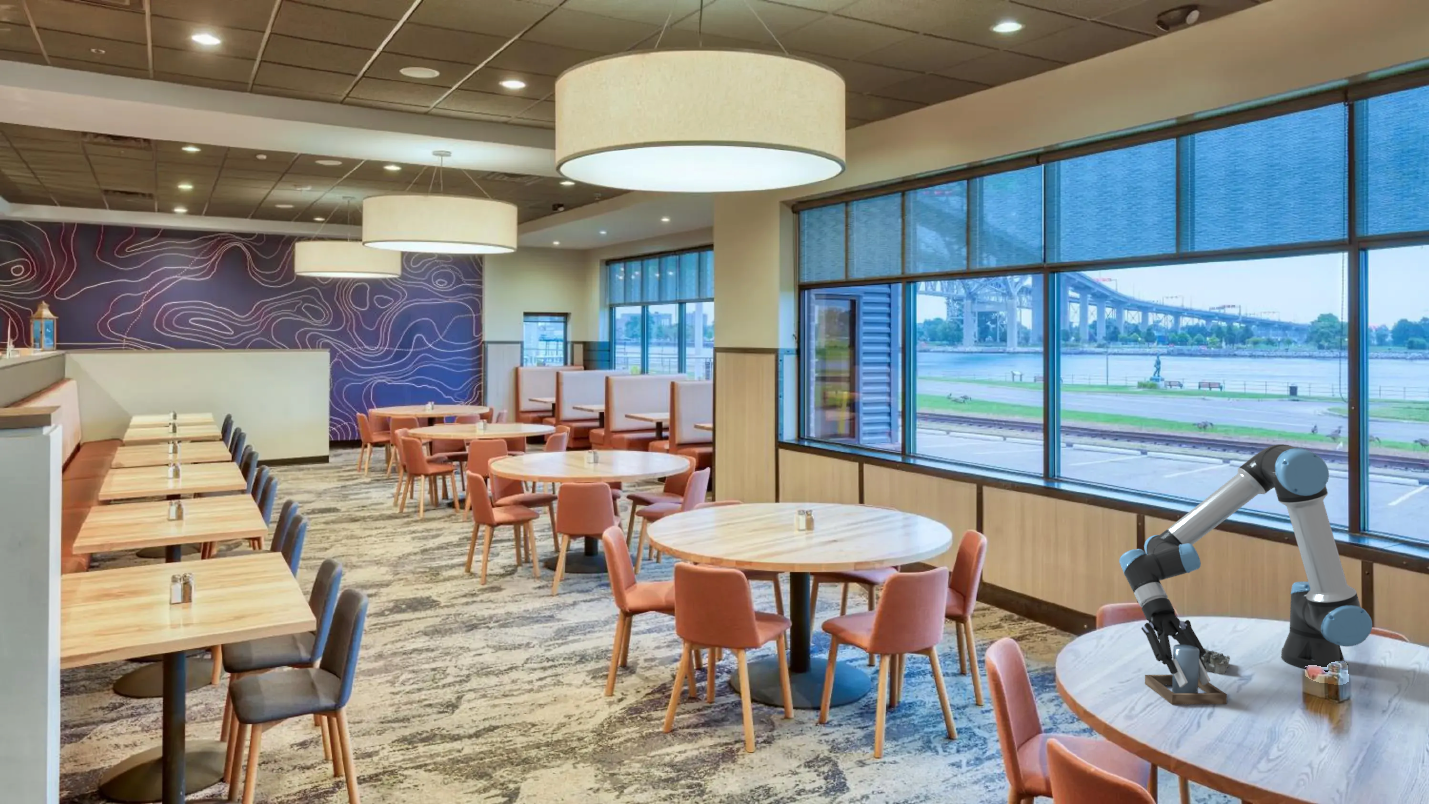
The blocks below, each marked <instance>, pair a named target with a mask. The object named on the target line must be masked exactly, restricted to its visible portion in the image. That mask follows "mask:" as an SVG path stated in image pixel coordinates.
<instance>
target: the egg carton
mask: <svg viewBox="0 0 1429 804" xmlns="http://www.w3.org/2000/svg"><path fill="white" fill-rule="evenodd" d="M1203 648H1204V650H1205V652H1206V654H1205V655H1203V656H1202V657H1201V659H1202V661H1203V662H1204V664H1205V666H1206V672H1213V673H1215V675H1216V674H1217V675H1220V674H1222V675H1223V674H1225V673H1226V671H1227V669H1228V667H1230V666H1229V664H1230V661H1231V657H1230V655H1227V656H1225V655H1224V654H1223V653H1219V652H1217V651H1214V650H1212V651H1211V650H1208V649H1207V648H1205V647H1203ZM1208 661H1209V662H1208Z"/></svg>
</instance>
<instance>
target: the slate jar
mask: <svg viewBox="0 0 1429 804" xmlns="http://www.w3.org/2000/svg"><path fill="white" fill-rule="evenodd" d="M1172 649H1173V651H1172V652H1173V654H1172V660H1173V659H1176V660H1177V662H1178V664H1179V666H1180V668H1181V670H1182V672H1183V674H1184V676H1185V678H1186V680H1187V682H1188V683H1187V684H1186V685H1184V686H1183V687H1179V684H1178V682H1177V680H1176V678H1175V676H1174V674H1172V675H1173V676H1172V685H1171V686H1172V687H1171V691H1172V692H1173V693H1199V688H1198V676H1199V649H1198V648H1197V647H1194V646H1190V645H1183V644H1179V643H1178V644H1175V645H1173V647H1172Z"/></svg>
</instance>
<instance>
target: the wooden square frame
mask: <svg viewBox="0 0 1429 804" xmlns="http://www.w3.org/2000/svg"><path fill="white" fill-rule="evenodd" d="M1172 676H1173V674H1144V684H1145V686H1147V687H1148V688H1149V689H1151V690H1152V691H1153V692H1155V693H1156V694H1157V695H1159V696H1160V697H1161V698H1163V699H1164V700H1166V701H1167V702H1168V703H1170V704H1171V705H1227V704H1228V702H1227V699H1228V694H1227V693H1226V692H1225V691H1222V689H1220V688H1218V687H1217V686H1215V685H1214V684H1212V683H1211V682H1210V681H1209V682H1208V683H1207V684H1206V685H1202V683H1201V681H1200V679H1199V677H1198V689H1200V690H1202V692H1198V693H1173V692H1172V690H1171V689H1169V688H1167V686H1172Z"/></svg>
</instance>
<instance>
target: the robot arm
mask: <svg viewBox="0 0 1429 804" xmlns="http://www.w3.org/2000/svg"><path fill="white" fill-rule="evenodd" d="M1329 472H1330V471H1329V468H1328V465H1327V463H1326V462H1325V461H1324V459H1323V458H1322V457H1320V455H1318V454H1316V453H1315V452H1313V451H1311V450H1310V449H1309V450H1308V449H1305V448H1301V447H1295V446H1292V445H1289V444H1274V445H1270V446H1268V447H1265V448H1264V449H1262V450H1261V451H1259V452H1258V453H1256V454H1255V455H1254V456H1252V457H1251V458H1250V459H1248V460H1247V461H1246V462H1244V463H1243V464H1242V465H1240V467H1238V468H1237V474H1236V475H1235V476H1233V477H1232V478H1229V480H1228V481H1227V482H1225V483H1224V484H1222V486H1220V487H1219V488H1218V489H1217V490H1215V491H1213V492H1212V493H1211V494H1210V495H1209V496H1208V497H1206V498H1204V500H1202V501H1201V502H1200V503H1199V504H1197V505H1196V506H1195V507H1193V508H1192V509H1191V510H1190V511H1189V512H1187V513H1186V514H1185V515H1183V516H1182V517H1181V518H1179V519H1178V520H1177V521H1176V522H1175V523H1173V524H1172V525H1171V526H1169V528H1167V529H1166V530H1164V531H1162V532H1161V533H1160V534H1154V535H1151V536H1149V537H1148V538H1147V539H1146V540H1145V542H1144V545H1143V547H1144V548H1143V549H1144V550H1143V549H1141V548H1137V549H1134V548H1133V549H1130V550H1128V551H1125V552H1124V553H1122V555H1121V556H1120V557H1119V560H1118V562H1119V565H1120V567H1121V569H1122V573H1123V576H1125V578H1126V581H1127V582H1128V584H1129V586H1130V588H1131V590H1132V592H1133V593H1134V596H1135V598H1136V601H1137V602H1138V604H1139V607H1141V612H1142V613H1143V615H1144V617H1145V619H1146V621H1148V622H1146V623H1145V624H1143V625H1142V626H1141V630H1142V632H1143V633H1144V635H1145V636H1146V638H1147V641H1148V643H1149V645H1150V648H1151V650H1152V652H1153V654H1154V658H1155V659H1156V661H1157V662H1161V663H1162V664H1163V665H1166V666H1167V669H1168V671H1169V672H1170V675H1173V674H1174V676H1175V678H1176V680H1177V682H1178V684H1179V687H1183V686H1184V685H1186V684H1187V683H1188V682H1187V680H1186V678H1185V676H1184V674H1183V672H1182V670H1181V668H1180V666H1179V664H1178V662H1177V660H1176V659H1173V654H1172V652H1173V651H1172V648H1171V644H1170V638H1169V636H1170V637H1172V639H1174V640H1176V642H1177V643H1178V645H1179V644H1183V645H1190V646H1194V647H1197V648H1198V649H1199V676H1198V677H1199V679H1200V681H1201V683H1202V685H1206V684H1207V683H1208V682H1209V683H1210V682H1211V679H1210V676H1209V675H1208V671H1206V666H1205V664H1204V662H1203V661H1202V659H1201V657H1202V656H1203V655H1205V654H1206V652H1205V650H1204V648H1205V647H1204V646H1203V645H1202V643H1201V641H1200V639H1199V638H1198V636H1197V635H1196V633H1195V631H1194V630H1193V627H1192V623H1191V620H1189V619H1186V620H1185V621H1184V620H1180V618H1178V616H1177V615H1176V613H1175V612H1176V611H1175V608H1174V607H1173V603H1172V602H1171V600H1170V599H1169V597H1168V594H1167V592H1166V590H1165V589H1164V587H1163V585H1162V583H1161V581H1163V580H1166V579H1170V578H1174V577H1177V576H1180V575H1185V574H1190V573H1191V572H1194V571H1197V570H1199V569H1200V568H1201V567H1202V566H1201V559H1200V555H1199V553H1198V552H1197V550H1196V548H1195V547H1194V544H1196V543H1197V542H1198V541H1200V540H1201V539H1202V538H1203V537H1204V536H1206V535H1207V534H1208V533H1210V532H1211V531H1212V530H1214V529H1215V528H1216V527H1217V526H1219V525H1220V524H1222V523H1223V522H1224V521H1225V520H1227V519H1228V518H1229V517H1231V516H1232V515H1233V514H1234V513H1236V512H1237V511H1238V510H1240V509H1242V507H1244V506H1245V505H1247V504H1248V503H1249V502H1250V501H1251V500H1253V499H1254V498H1255V497H1256V496H1258V495H1266V494H1267V493H1268V492H1269V491H1271V490H1273V489H1274V490H1275V493H1276V494H1275V495H1276V497H1277V500H1278V502H1279V503H1280V504H1282V505H1284V506H1285V507H1286V509H1287V513H1288V515H1289V520H1290V523H1291V525H1292V529H1293V532H1294V537H1295V540H1296V544H1297V546H1298V547H1297V548H1298V550H1299V554H1300V557H1301V561H1302V564H1303V567H1304V568H1303V569H1304V571H1305V574H1306V578H1307V581H1295V582H1293V583H1292V585H1291V592H1290V612H1289V614H1290V615H1289V632H1288V635H1287V637H1286V640H1285V642H1284V645H1283V647H1282V648H1281V650H1280V651H1281V655H1280V658H1281V660H1282V661H1284V662H1285V663H1287V664H1289V665H1292V666H1295V667H1299V668H1302V669H1305V668H1304V667H1305V666H1308V665H1317V666H1321V667H1327V665H1328V664H1329V663H1331V662H1335V661H1344V662H1345V656H1344V655H1343V651H1342V648H1341V647H1346V648H1347V647H1353V646H1357V645H1359V644H1361V643H1363V642H1364V641H1366V640H1367V638H1368V637H1369V636H1370V634H1371V632H1372V629H1373V621H1372V617H1371V616H1370V614H1369V613H1368V612H1367V611H1366V609H1364V608H1362V606H1361V604H1360V600H1359V596H1358V592H1357V590H1356V589H1355V588H1354V587H1352V586H1350V585H1349V584H1348V582H1347V579H1346V575H1345V571H1344V568H1343V564H1342V561H1341V559H1340V558H1341V557H1340V555H1339V550H1338V547H1337V544H1336V541H1335V537H1334V534H1333V530H1332V527H1331V523H1330V519H1329V515H1328V513H1327V509H1326V505H1325V502H1324V500H1325V499H1326V497H1327V496H1328V494H1329V492H1328V489H1327V483H1328V482H1329V476H1330V473H1329Z"/></svg>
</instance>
